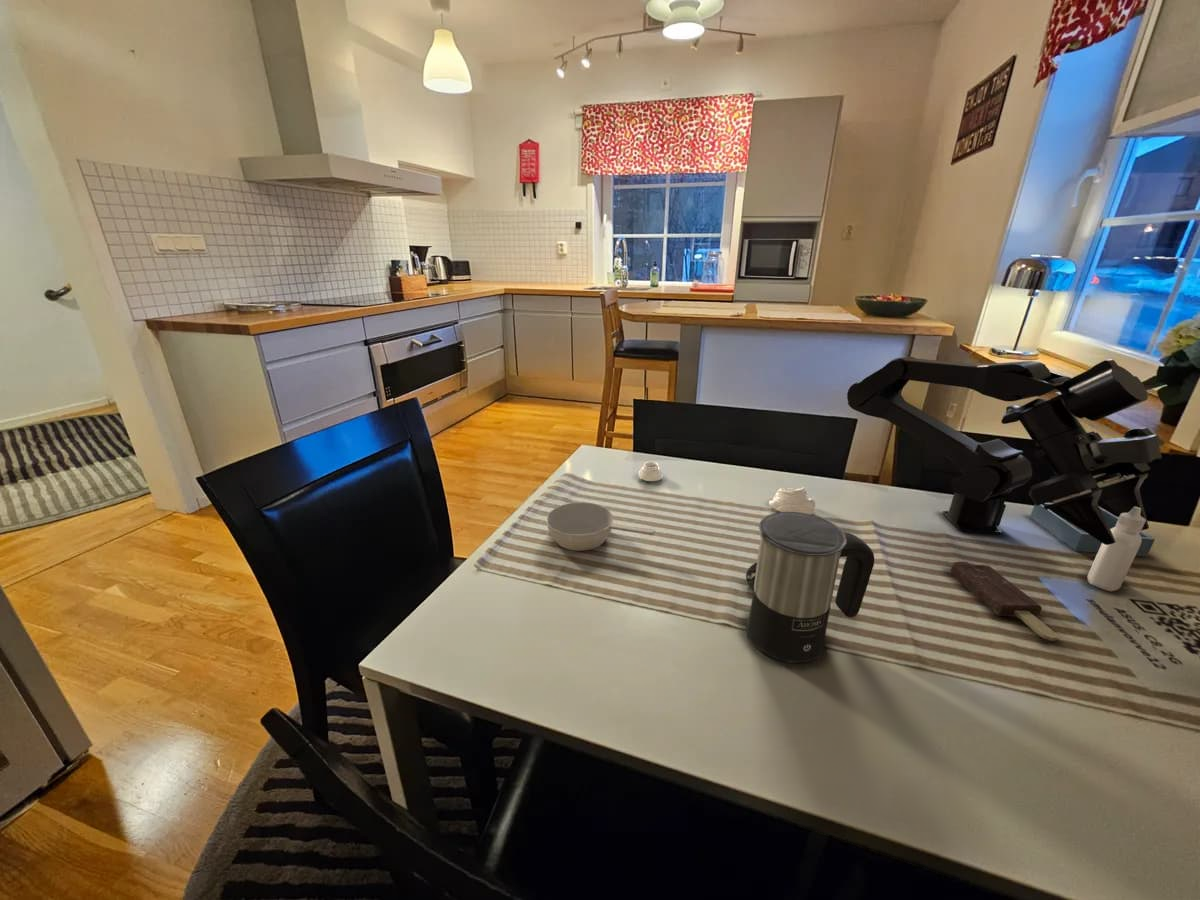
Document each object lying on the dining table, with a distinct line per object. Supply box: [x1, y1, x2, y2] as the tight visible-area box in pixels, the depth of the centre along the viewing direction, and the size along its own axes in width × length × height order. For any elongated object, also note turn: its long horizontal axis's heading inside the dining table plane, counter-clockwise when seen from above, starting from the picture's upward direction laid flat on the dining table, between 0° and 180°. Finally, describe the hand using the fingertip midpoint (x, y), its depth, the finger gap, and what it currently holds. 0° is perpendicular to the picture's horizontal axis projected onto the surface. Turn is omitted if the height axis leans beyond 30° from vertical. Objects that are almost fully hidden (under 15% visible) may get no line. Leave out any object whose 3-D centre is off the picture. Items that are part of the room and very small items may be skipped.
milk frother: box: [745, 511, 875, 664], centre depth 61 cm, size 14×16×15 cm
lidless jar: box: [638, 461, 664, 482], centre depth 102 cm, size 5×3×5 cm
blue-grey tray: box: [1029, 502, 1156, 557], centre depth 82 cm, size 10×11×3 cm
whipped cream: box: [768, 486, 816, 515], centre depth 89 cm, size 8×7×5 cm
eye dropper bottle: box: [1087, 507, 1146, 592], centre depth 68 cm, size 4×6×12 cm
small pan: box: [546, 501, 656, 552], centre depth 79 cm, size 11×18×4 cm, turn 68°
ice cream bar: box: [949, 561, 1058, 642], centre depth 65 cm, size 5×2×15 cm
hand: (1127, 536), depth 67 cm, fingers open, 9 cm apart
